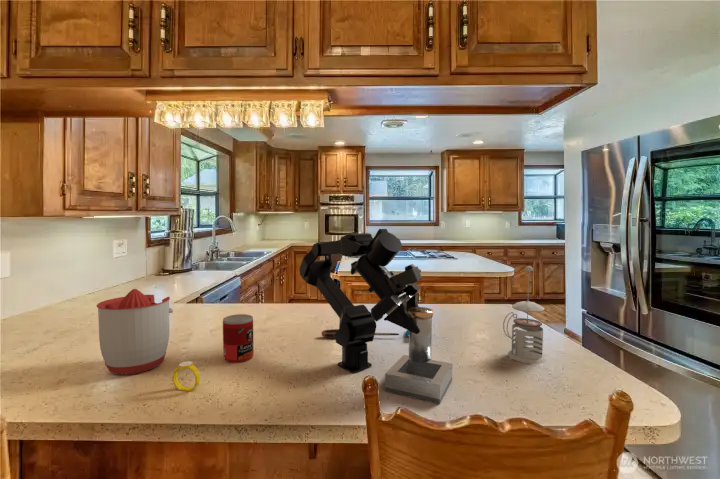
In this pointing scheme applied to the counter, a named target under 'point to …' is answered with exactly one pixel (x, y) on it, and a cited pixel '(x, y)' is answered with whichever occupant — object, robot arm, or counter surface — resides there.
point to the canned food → (238, 338)
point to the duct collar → (419, 379)
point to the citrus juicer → (133, 332)
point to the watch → (185, 366)
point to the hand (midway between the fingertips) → (422, 329)
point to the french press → (526, 333)
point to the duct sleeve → (421, 334)
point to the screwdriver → (332, 332)
